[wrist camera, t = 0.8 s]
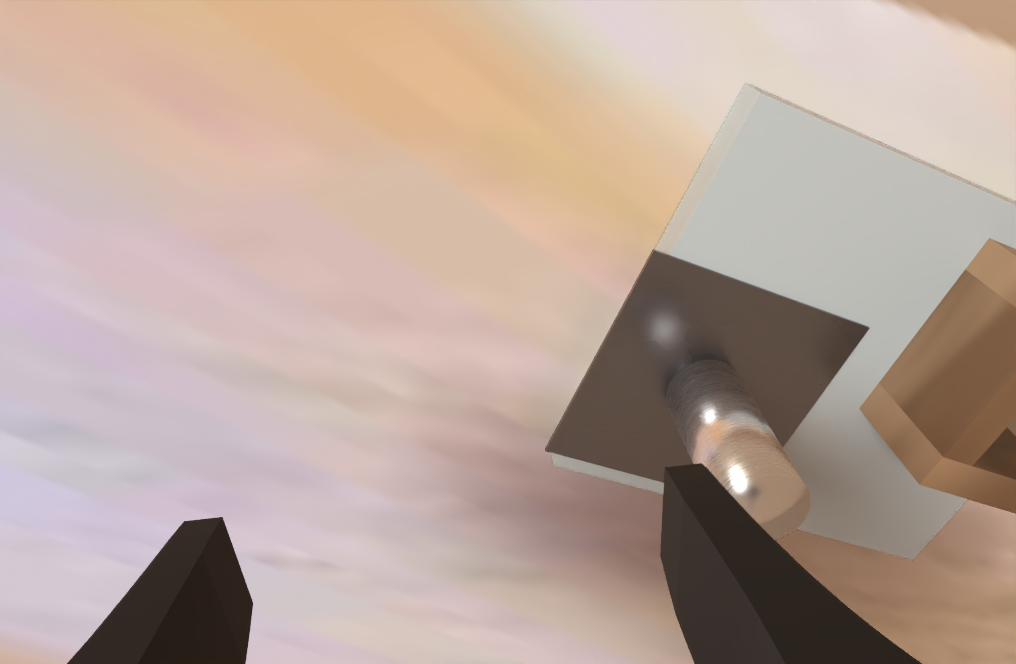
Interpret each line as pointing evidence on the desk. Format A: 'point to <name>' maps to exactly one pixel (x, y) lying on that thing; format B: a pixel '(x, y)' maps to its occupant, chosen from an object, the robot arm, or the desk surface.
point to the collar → (959, 388)
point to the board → (836, 288)
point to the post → (708, 385)
